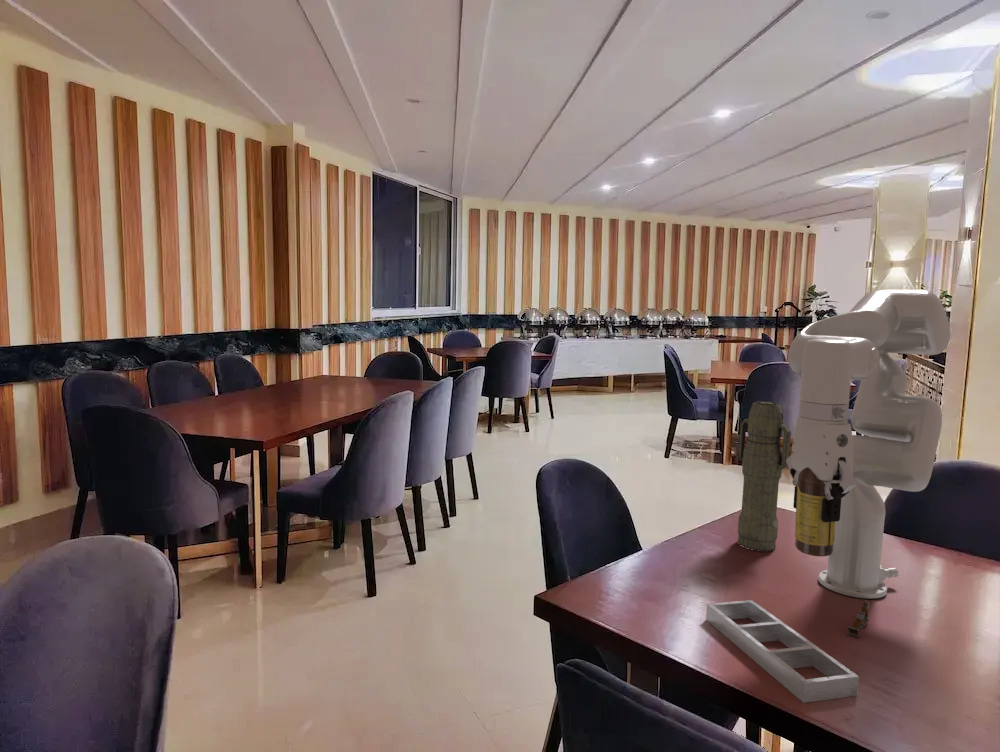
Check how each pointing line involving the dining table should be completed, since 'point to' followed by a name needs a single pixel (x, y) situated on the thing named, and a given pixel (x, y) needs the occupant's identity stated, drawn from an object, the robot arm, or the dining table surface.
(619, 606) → the dining table surface
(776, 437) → the thermos
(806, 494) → the sauce bottle
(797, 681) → the rack with square compartments
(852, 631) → the wooden post with brackets
